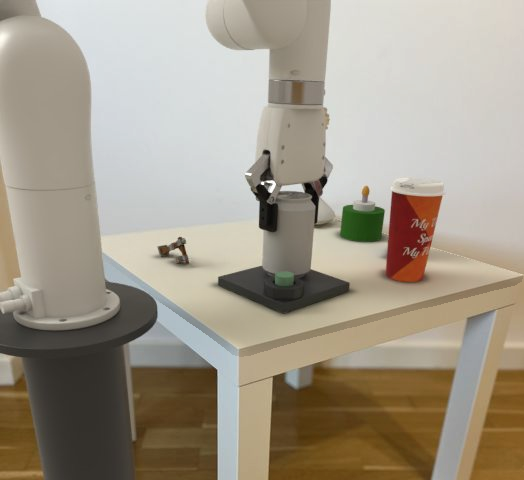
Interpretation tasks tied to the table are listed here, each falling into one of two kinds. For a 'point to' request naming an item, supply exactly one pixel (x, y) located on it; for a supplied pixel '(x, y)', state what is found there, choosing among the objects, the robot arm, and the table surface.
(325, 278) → the dark grey flat block
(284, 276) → the button
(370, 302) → the table surface
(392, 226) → the coffee cup
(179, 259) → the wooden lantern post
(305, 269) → the can
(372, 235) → the candle
